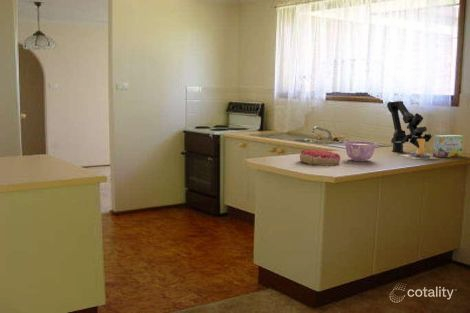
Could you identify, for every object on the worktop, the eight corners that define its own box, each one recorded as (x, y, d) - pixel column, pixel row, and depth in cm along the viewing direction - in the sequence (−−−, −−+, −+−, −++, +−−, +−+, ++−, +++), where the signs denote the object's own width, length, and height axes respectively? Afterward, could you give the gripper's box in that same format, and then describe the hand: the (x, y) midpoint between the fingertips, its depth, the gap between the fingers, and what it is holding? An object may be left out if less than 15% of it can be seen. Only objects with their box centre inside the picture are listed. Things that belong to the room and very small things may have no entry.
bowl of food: (352, 163, 327) (353, 145, 325) (338, 158, 346) (339, 141, 344) (381, 162, 332) (382, 144, 330) (365, 157, 351) (366, 140, 349)
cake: (292, 158, 334) (293, 146, 332) (325, 159, 343) (327, 147, 342) (310, 167, 311) (312, 154, 310) (346, 167, 321) (347, 155, 319)
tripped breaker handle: (416, 153, 357) (417, 138, 355) (421, 153, 358) (422, 138, 356) (418, 154, 354) (419, 139, 352) (424, 154, 355) (425, 139, 353)
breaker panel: (400, 155, 364) (401, 150, 364) (422, 155, 368) (422, 150, 368) (414, 159, 347) (415, 154, 347) (437, 159, 351) (437, 154, 350)
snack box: (438, 157, 358) (440, 136, 356) (432, 156, 364) (434, 135, 361) (461, 156, 366) (463, 135, 364) (455, 155, 371) (457, 134, 369)
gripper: (407, 122, 354) (414, 140, 345) (431, 122, 358) (439, 140, 349) (400, 132, 363) (407, 150, 354) (424, 132, 367) (431, 150, 358)
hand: (421, 147), depth 354 cm, fingers open, 4 cm apart
